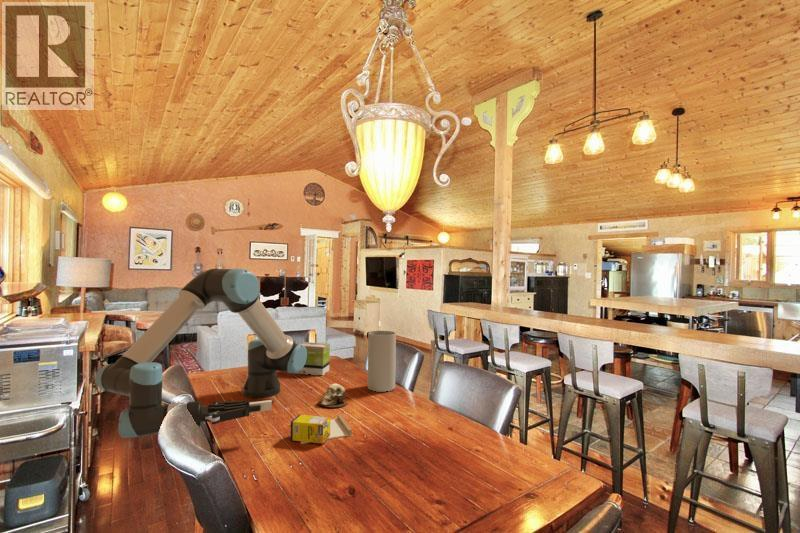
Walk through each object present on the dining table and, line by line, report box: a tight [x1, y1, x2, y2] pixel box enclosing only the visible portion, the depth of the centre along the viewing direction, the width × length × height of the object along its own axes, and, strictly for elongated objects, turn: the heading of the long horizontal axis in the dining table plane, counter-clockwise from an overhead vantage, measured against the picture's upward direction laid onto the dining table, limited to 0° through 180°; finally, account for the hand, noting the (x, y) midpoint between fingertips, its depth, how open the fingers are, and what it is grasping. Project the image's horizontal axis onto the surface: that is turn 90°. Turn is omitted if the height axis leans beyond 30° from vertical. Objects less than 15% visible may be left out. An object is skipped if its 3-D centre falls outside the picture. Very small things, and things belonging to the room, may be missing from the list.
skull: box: [317, 382, 349, 408], centre depth 152 cm, size 12×10×10 cm
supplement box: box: [290, 414, 331, 444], centre depth 119 cm, size 6×6×11 cm
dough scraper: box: [299, 414, 352, 445], centre depth 126 cm, size 16×14×2 cm
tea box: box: [294, 341, 331, 376], centre depth 195 cm, size 15×10×15 cm, turn 81°
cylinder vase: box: [367, 330, 397, 393], centre depth 172 cm, size 12×12×25 cm
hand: (271, 405), depth 119 cm, fingers closed
